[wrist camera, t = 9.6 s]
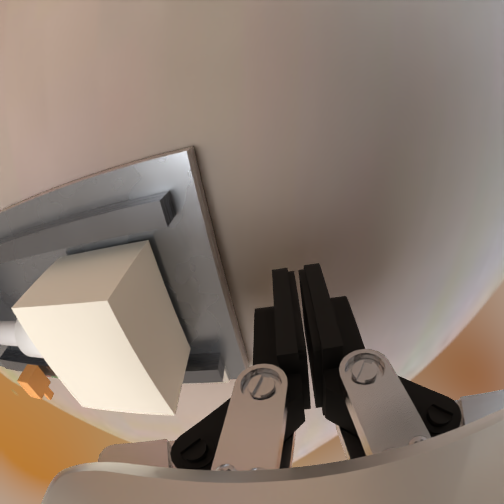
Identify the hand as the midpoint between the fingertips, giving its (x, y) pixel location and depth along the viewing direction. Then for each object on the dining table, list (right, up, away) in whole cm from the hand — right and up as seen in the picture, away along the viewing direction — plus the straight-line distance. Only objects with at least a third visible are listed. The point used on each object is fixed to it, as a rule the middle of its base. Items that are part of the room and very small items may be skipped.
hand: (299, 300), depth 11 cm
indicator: (-16, -7, +4) cm, 18 cm away
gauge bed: (-15, -1, +4) cm, 15 cm away
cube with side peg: (-10, -2, +3) cm, 11 cm away
